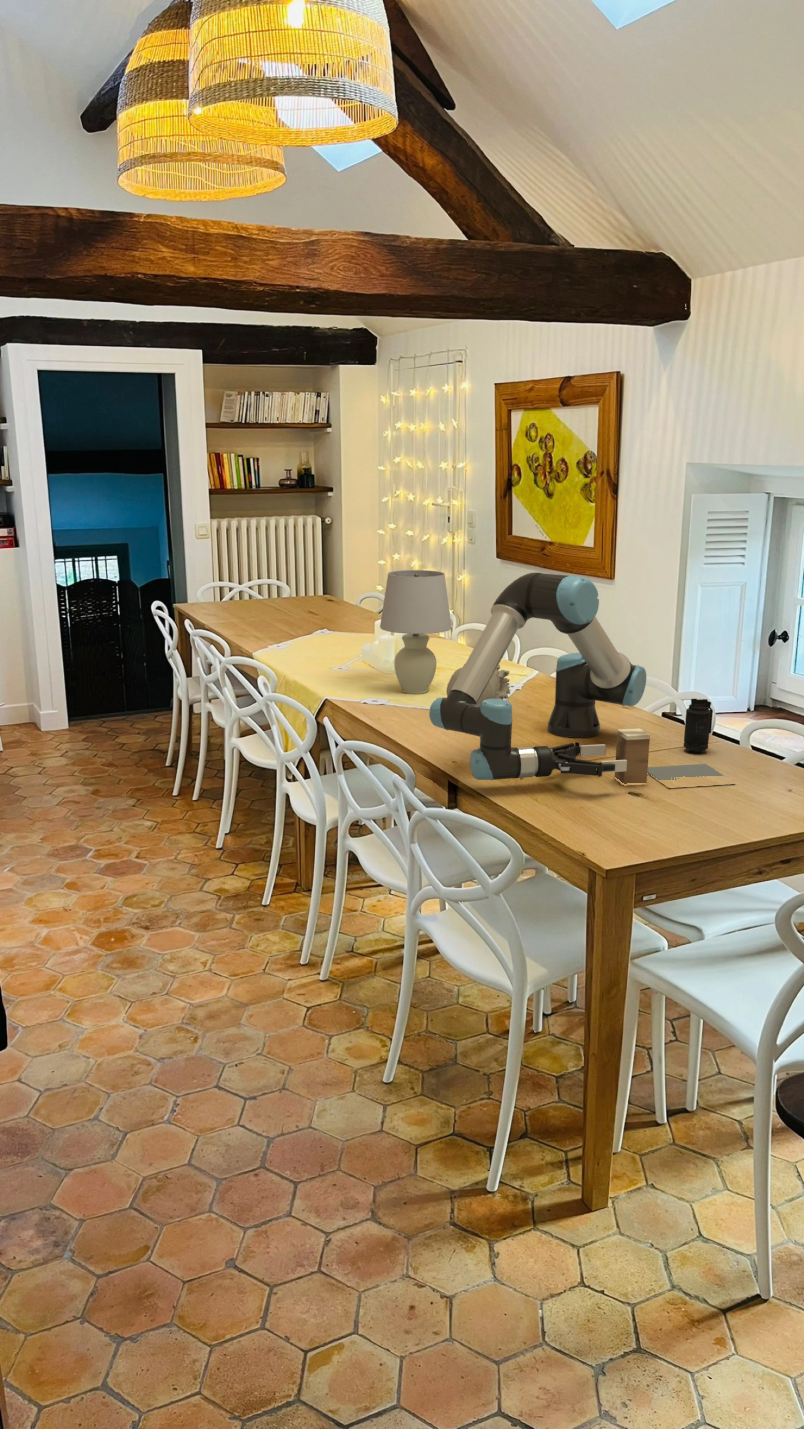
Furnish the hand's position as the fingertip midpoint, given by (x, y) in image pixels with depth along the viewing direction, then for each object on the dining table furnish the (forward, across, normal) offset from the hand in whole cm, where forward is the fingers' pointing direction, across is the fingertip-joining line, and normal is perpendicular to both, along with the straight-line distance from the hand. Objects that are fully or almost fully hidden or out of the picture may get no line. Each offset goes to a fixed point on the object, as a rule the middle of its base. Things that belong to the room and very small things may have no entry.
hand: (615, 757), depth 264 cm
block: (+5, 0, -7) cm, 8 cm away
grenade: (+34, -23, -7) cm, 41 cm away
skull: (-16, -70, -7) cm, 72 cm away
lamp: (-28, -106, -7) cm, 110 cm away
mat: (+21, -2, -7) cm, 22 cm away
